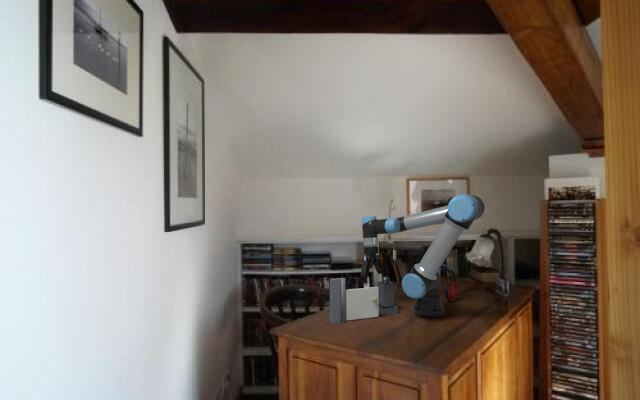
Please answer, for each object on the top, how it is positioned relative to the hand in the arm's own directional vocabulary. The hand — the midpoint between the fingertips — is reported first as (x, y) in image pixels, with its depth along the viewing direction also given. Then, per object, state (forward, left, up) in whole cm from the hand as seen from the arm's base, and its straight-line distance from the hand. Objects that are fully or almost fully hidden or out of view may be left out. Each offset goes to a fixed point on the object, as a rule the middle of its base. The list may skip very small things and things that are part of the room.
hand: (373, 288), depth 187 cm
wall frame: (+10, +23, -12) cm, 28 cm away
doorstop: (-6, -2, -12) cm, 13 cm away
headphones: (-28, -39, -12) cm, 50 cm away
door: (+1, +15, -11) cm, 19 cm away
